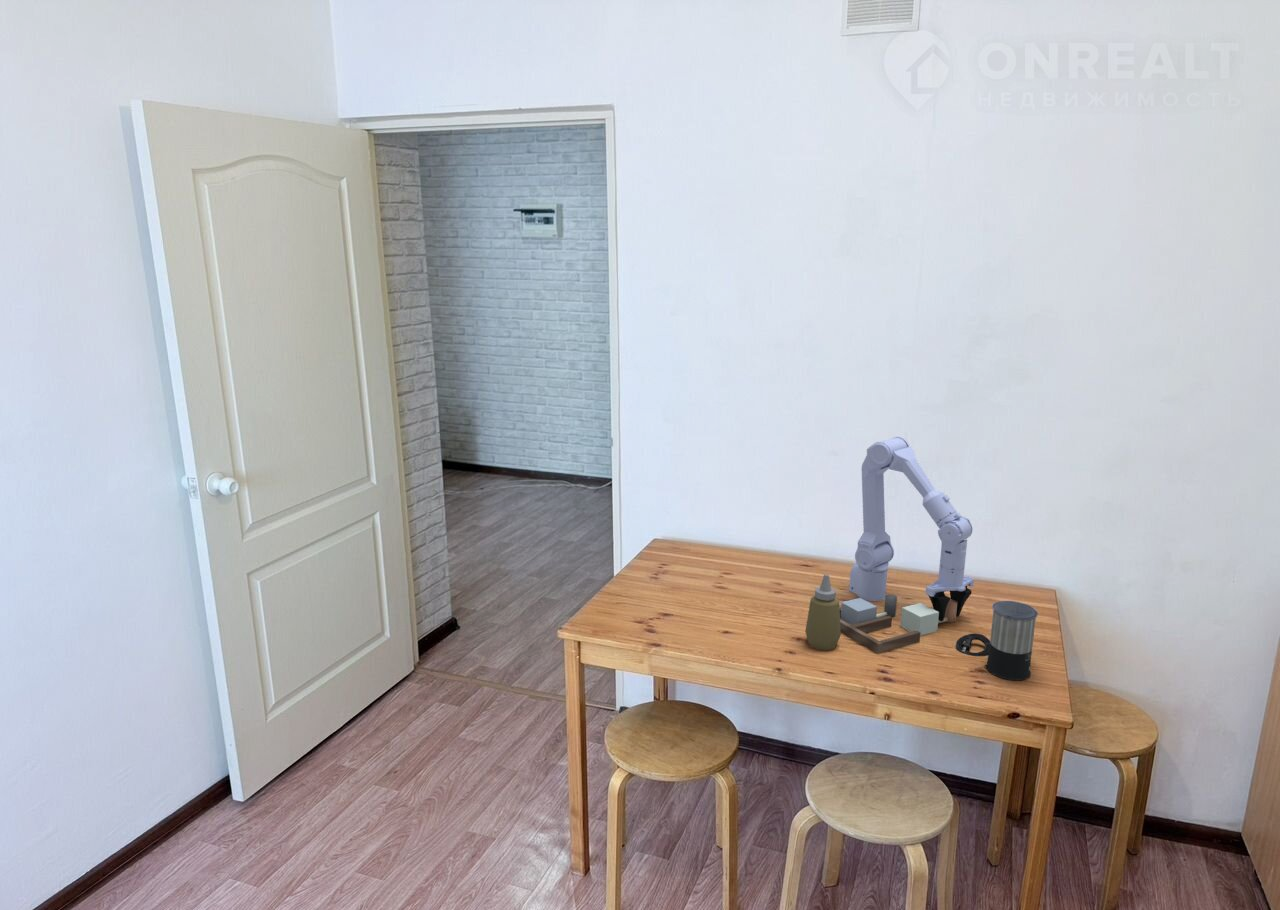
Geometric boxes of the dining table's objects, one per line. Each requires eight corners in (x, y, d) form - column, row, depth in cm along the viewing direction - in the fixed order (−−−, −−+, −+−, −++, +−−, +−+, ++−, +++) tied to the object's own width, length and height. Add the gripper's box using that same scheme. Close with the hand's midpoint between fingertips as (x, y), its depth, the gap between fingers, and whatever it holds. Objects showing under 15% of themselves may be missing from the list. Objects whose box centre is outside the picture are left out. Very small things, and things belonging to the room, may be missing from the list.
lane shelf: (821, 624, 204) (822, 611, 203) (904, 602, 216) (905, 591, 216) (877, 657, 187) (878, 644, 186) (964, 632, 200) (965, 619, 199)
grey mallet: (840, 620, 204) (841, 602, 202) (885, 609, 210) (886, 591, 209) (856, 630, 198) (858, 611, 197) (902, 618, 205) (904, 599, 204)
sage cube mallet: (900, 626, 201) (902, 607, 199) (944, 614, 207) (946, 596, 206) (918, 636, 195) (920, 616, 194) (963, 623, 202) (965, 605, 201)
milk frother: (1031, 685, 175) (1039, 621, 172) (952, 670, 181) (959, 608, 178) (1029, 656, 188) (1037, 596, 184) (956, 643, 194) (962, 585, 190)
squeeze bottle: (833, 658, 186) (837, 584, 182) (799, 649, 191) (803, 577, 186) (844, 644, 193) (849, 573, 189) (811, 636, 197) (815, 566, 193)
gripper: (943, 576, 193) (938, 629, 197) (986, 566, 200) (980, 617, 203) (920, 566, 199) (916, 618, 203) (963, 557, 206) (958, 607, 209)
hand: (947, 617), depth 203 cm, fingers closed on sage cube mallet, 5 cm apart
